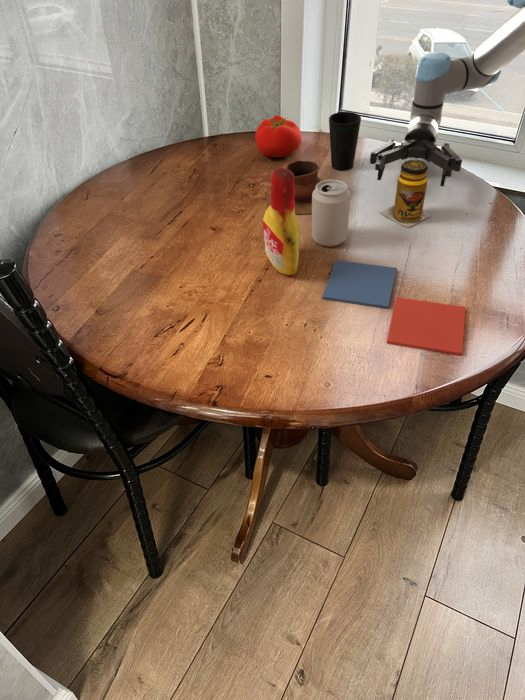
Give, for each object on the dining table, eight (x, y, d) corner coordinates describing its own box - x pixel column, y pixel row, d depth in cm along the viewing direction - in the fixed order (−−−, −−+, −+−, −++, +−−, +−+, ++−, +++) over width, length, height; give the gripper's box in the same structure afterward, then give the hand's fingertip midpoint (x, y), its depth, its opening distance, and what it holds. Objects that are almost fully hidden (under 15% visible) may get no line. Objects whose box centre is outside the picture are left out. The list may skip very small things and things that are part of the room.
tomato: (297, 165, 139) (297, 132, 133) (250, 162, 142) (248, 130, 136) (305, 144, 148) (306, 112, 142) (261, 142, 150) (260, 110, 144)
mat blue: (396, 270, 104) (397, 267, 104) (388, 308, 96) (388, 306, 96) (335, 262, 107) (335, 259, 107) (322, 298, 99) (322, 296, 99)
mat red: (465, 309, 95) (465, 306, 95) (461, 355, 87) (462, 353, 87) (396, 299, 98) (396, 296, 98) (386, 343, 90) (387, 340, 90)
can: (316, 227, 117) (317, 175, 109) (350, 232, 115) (354, 179, 107) (307, 245, 112) (307, 192, 104) (342, 251, 110) (346, 197, 102)
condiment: (407, 228, 115) (416, 175, 107) (378, 213, 120) (384, 161, 112) (430, 216, 118) (440, 164, 110) (401, 202, 123) (408, 150, 115)
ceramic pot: (265, 216, 121) (264, 187, 117) (264, 179, 134) (263, 152, 129) (346, 212, 121) (347, 183, 116) (336, 175, 134) (338, 148, 129)
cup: (326, 159, 141) (328, 112, 132) (356, 158, 140) (359, 111, 132) (328, 173, 135) (329, 124, 127) (358, 172, 135) (362, 123, 126)
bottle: (306, 278, 104) (307, 181, 90) (274, 284, 103) (270, 187, 89) (291, 245, 113) (289, 152, 99) (261, 250, 112) (255, 157, 98)
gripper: (470, 156, 132) (467, 198, 117) (368, 148, 138) (353, 187, 124) (477, 125, 126) (474, 166, 112) (371, 118, 133) (355, 156, 118)
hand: (410, 177), depth 118 cm, fingers open, 13 cm apart
